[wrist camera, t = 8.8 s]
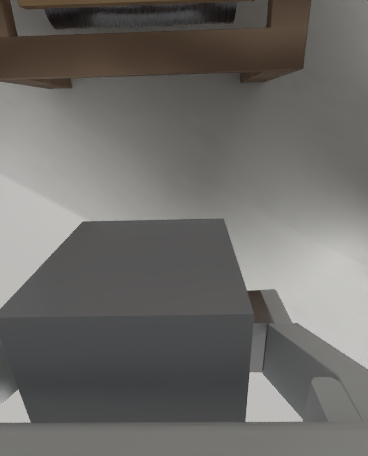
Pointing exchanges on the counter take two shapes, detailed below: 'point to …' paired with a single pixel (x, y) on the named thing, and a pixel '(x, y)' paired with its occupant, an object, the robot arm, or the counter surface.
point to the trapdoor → (133, 12)
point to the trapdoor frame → (157, 51)
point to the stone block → (133, 326)
